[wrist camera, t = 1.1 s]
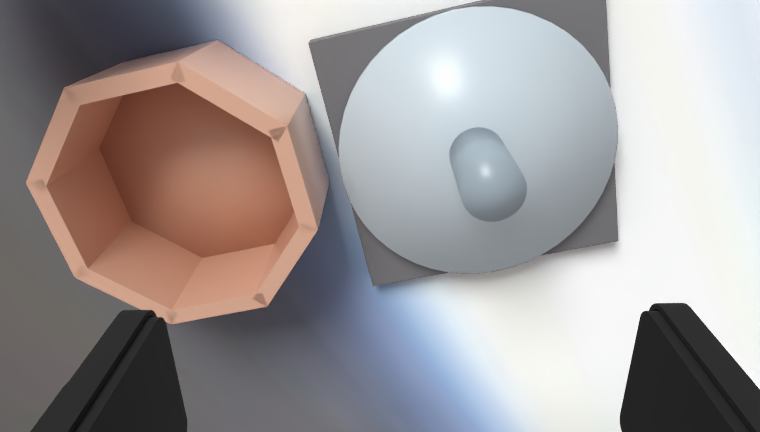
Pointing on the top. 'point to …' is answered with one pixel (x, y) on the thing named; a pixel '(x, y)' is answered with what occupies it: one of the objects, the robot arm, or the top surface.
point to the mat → (358, 47)
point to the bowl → (182, 181)
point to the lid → (477, 139)
